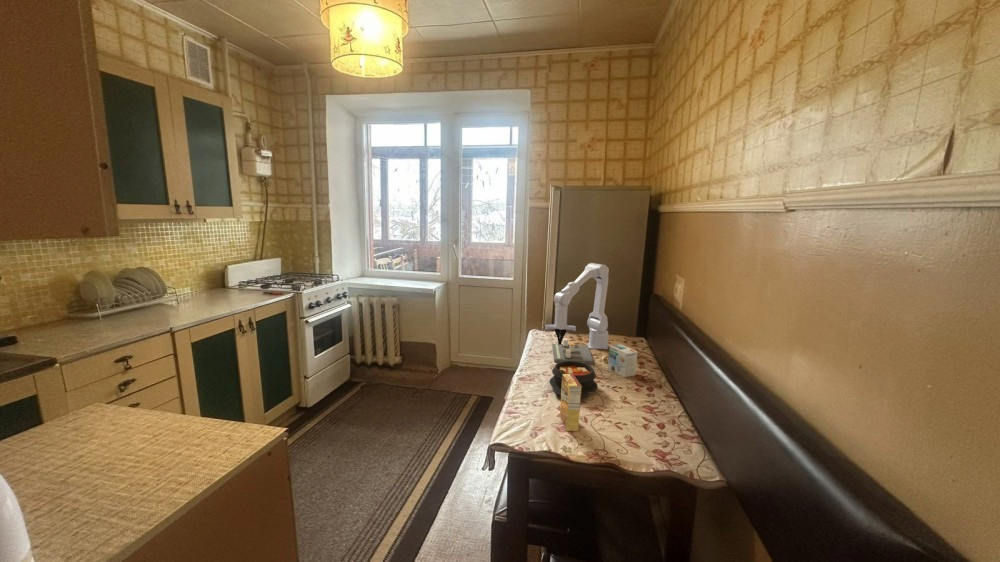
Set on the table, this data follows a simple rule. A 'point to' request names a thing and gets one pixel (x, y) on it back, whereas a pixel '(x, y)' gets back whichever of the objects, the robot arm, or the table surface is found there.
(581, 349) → the breaker panel
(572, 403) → the candy box
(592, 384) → the casserole
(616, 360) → the light bulb box
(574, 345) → the handle
